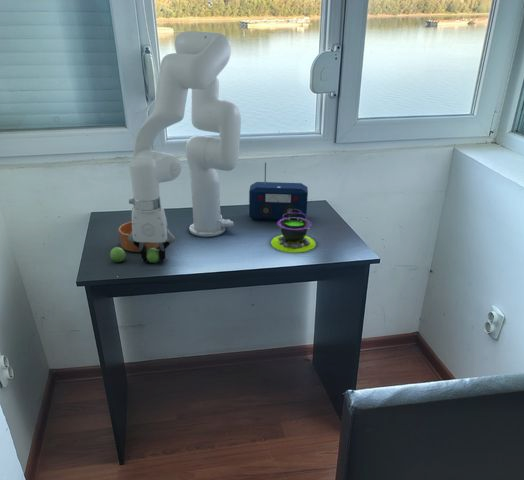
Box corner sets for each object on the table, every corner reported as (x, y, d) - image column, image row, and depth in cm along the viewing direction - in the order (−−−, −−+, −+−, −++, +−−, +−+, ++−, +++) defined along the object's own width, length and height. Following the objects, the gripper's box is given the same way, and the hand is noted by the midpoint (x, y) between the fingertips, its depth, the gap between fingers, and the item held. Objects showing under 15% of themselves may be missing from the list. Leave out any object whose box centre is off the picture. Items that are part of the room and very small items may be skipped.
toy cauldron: (324, 243, 175) (327, 211, 169) (296, 256, 166) (297, 224, 160) (290, 231, 184) (292, 200, 177) (261, 243, 175) (262, 211, 168)
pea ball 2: (162, 259, 163) (161, 245, 161) (160, 265, 160) (158, 251, 157) (148, 258, 163) (146, 245, 161) (145, 265, 160) (143, 251, 157)
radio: (249, 221, 191) (249, 166, 179) (250, 213, 198) (250, 159, 186) (305, 223, 190) (309, 167, 178) (305, 214, 197) (309, 160, 186)
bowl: (164, 237, 177) (163, 220, 174) (157, 253, 166) (156, 236, 163) (126, 236, 177) (123, 219, 174) (116, 253, 166) (114, 235, 163)
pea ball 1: (127, 258, 163) (125, 244, 161) (124, 264, 160) (122, 251, 157) (113, 258, 163) (111, 244, 161) (109, 264, 160) (107, 250, 157)
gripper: (115, 207, 148) (124, 265, 158) (174, 208, 148) (179, 266, 158) (121, 198, 154) (129, 255, 164) (178, 199, 154) (182, 256, 164)
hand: (153, 260), depth 161 cm, fingers closed on pea ball 2, 4 cm apart
